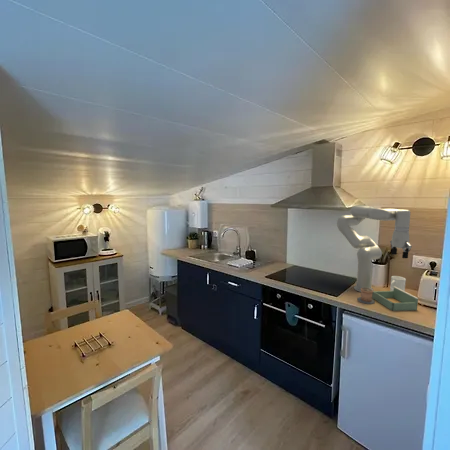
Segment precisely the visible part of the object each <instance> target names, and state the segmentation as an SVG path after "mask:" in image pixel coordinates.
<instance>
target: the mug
mask: <svg viewBox="0 0 450 450" xmlns="http://www.w3.org/2000/svg"><path fill="white" fill-rule="evenodd" d="M406 282H407V279H406V277H403V276H399V275H392V276H391V277H390V287H389V288H390V289H389V291H394V287H397V288H399V289H401V290H403V291H405V292H406V290H405V289H406Z"/></svg>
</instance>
